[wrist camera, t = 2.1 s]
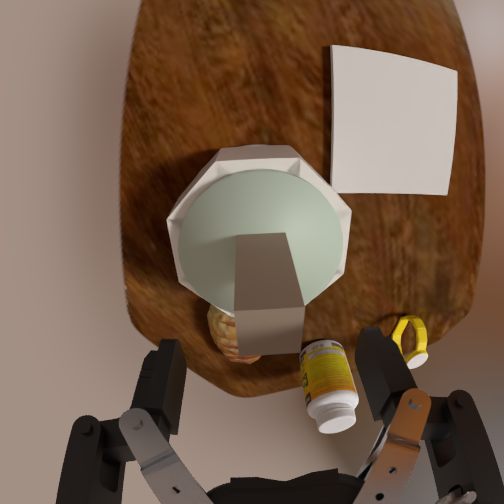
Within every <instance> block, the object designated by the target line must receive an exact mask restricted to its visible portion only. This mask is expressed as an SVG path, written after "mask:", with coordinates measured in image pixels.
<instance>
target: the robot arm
mask: <svg viewBox="0 0 504 504" xmlns="http://www.w3.org/2000/svg"><path fill="white" fill-rule="evenodd" d="M404 360H405V359H404V357H403V355H402V354H401V351H400V349H399V347H398V345H397V343H396V342H395V341H394V340H393V339H391V338H390V337H389V336H387V337H384V336H383V334H382V332H381V330H380V328H379V327H370V328H363V329H361V332H360V335H359V339H358V343H357V346H356V350H355V362H356V366H357V369H358V372H359V375H360V378H361V381H362V384H363V386H364V390H365V393H366V396H367V399H368V402H369V405H370V409H371V412H372V415H373V419H374V421H377V420H383V423H384V425H383V427H382V429H381V431H380V433H379V435H378V438H377V440H376V442H375V444H374V446H373V448H372V450H371V452H370V454H369V456H368V458H367V460H366V461H365V463H364V464H363V466H362V468H361V469H360V471H359V472H358V474H357V476H356V477H354V476H351V475H348V474H342V473H338V469H337V468H336V469H331V470H325V471H318V472H312V473H309V474H306V475H304V476H300V477H297V478H295V479H292V480H288V481H277V480H271V479H265V478H259V477H244V478H230V480H231V481H230V483H226V484H223V485H220V486H218V487H215V488H213V489H212V490H210V491H208V492H207V493H206V492H205V491H204V489H203V488H202V487H201V486H200V485H199V483H198V482H197V481H196V480H195V478H194V477H193V476H192V474H191V473H190V472H189V471H188V469H187V468H186V467H185V465H184V464H183V463H182V461H181V460H180V458H179V457H178V456H177V454H176V453H175V451H174V450H173V448H172V447H171V446H170V444H169V438H170V434H173V435H177V434H178V427H179V419H180V413H181V405H182V399H183V392H184V386H185V379H186V372H187V367H186V360H185V357H184V354H183V351H182V347H181V344H180V341H179V340H178V339H162V340H161V341H160V345H159V348H158V351H154V350H153V351H152V350H151V351H150V353H149V354H148V355H147V356H146V357H145V358H144V361H143V364H142V368H141V372H140V375H139V379H138V382H137V386H136V389H135V393H134V397H133V400H132V404H131V407H130V409H129V410H127V411H126V412H124V413H123V414H122V416H121V417H120V418H117V419H112V420H105V421H98V420H97V419H96V418H95V417H93V416H90V415H85V416H81V417H79V418H78V419H77V420H76V421H75V422H74V424H73V426H72V430H71V434H70V438H69V441H68V445H67V450H66V454H65V458H64V463H63V467H62V472H61V477H60V482H59V487H58V493H57V499H56V504H121V501H122V491H123V481H124V472H125V465H126V462H128V461H135V460H137V461H138V463H139V465H140V467H141V472H142V475H143V476H144V478H145V479H146V481H147V483H148V484H149V486H150V488H151V489H152V491H153V492H154V494H155V495H156V497H157V498H158V500H159V501H160V503H161V504H398V502H399V500H400V498H401V496H402V494H403V492H404V490H405V487H406V485H407V483H408V481H409V478H410V476H411V474H412V471H413V469H414V466H415V464H416V461H417V458H418V456H419V453H420V449H421V447H420V446H419V442H420V440H425V444H426V447H427V450H428V455H429V458H430V462H431V466H432V470H433V474H434V478H435V483H436V487H437V492H438V496H439V500H438V501H437V502H436V503H435V504H504V485H503V482H502V478H501V475H500V472H499V468H498V465H497V462H496V459H495V456H494V452H493V450H492V447H491V444H490V441H489V438H488V435H487V433H486V430H485V427H484V425H483V422H482V420H481V417H480V415H479V413H478V410H477V408H476V405H475V403H474V401H473V399H472V397H471V395H470V394H469V393H467V392H466V391H463V390H456V391H453V392H452V393H451V394H450V395H449V396H448V397H431V396H429V395H428V394H427V393H426V392H425V391H423V390H421V389H418V387H417V386H416V383H415V381H414V379H413V377H412V374H411V372H410V370H409V368H408V366H407V364H406V361H404Z"/></svg>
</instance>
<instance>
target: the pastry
mask: <svg viewBox="0 0 504 504" xmlns="http://www.w3.org/2000/svg"><path fill="white" fill-rule="evenodd" d="M207 319H208V325H209V328H210V333H211V336H212V338H213V340H214V343H215V344H217V347H218V348H219V349H220V350H221V351H222V353H223V354H224V355H225V357H227V358H228V360H230V361H232V362H240V363H242V362H244V363H247V364H251V363H253V362H255V361H256V360H258V359H259V358H260V357H261V356H262V355H256V356H239V352H238V344H237V336H236V327H235V318H234V317H231V316H229V315H228V314H226V313H224V312H223V311H221V310H220V309H218V308H217V307H215V306H214V305H212V304H210V308H209V311H208V313H207Z"/></svg>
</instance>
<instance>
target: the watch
mask: <svg viewBox="0 0 504 504" xmlns="http://www.w3.org/2000/svg"><path fill="white" fill-rule="evenodd" d="M408 321H411V322H412V323H413V325H414V328H415V330H416V337H417V344H416V350H415V351H414V352H412V353H411V354H410V355H409V356H408V357H407V358H406V360H404V361H406V364H407V366H408V368H409V369H412V368H416V367H418V366H420V365H422V364H423V363H424V362H425V361H426V360H427V358H428V354H427V352H426V345H427V334H426V329H425V326H424V324H423V322H422V320H421V319H420V318H418V317H417V316H414V315H410V316H403V317H401V318H400V320H399V322H398V324H397V326H396V328H395V329H394V331H393V333H392V336H391V339H393V340H394V341H395V342H396V343H397V345H398V347H399V349H400V351H401V354H402V350H401V334H402V332H403V330H404V328H405V326H406V325H407V323H408ZM402 355H403V354H402ZM403 357H404V356H403ZM404 359H405V358H404Z"/></svg>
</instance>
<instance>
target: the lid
mask: <svg viewBox="0 0 504 504" xmlns="http://www.w3.org/2000/svg"><path fill="white" fill-rule="evenodd" d="M342 252H343V233H342V228H341V224H340V221H339V219H338V216H337V214H336V212H335V210H334V209H333V207H332V206H331V204H330V203H329V201H328V200H327V199H326V197H325V196H324V195H323V194H322V193H321V192H320V191H319V190H318V189H317V188H316V187H315V186H313V185H312V184H311V183H309V182H307V181H306V180H304V179H303V178H300V177H298V176H296V175H294V174H291V173H288V172H284V171H280V170H274V169H251V170H244V171H240V172H236V173H233V174H231V175H228V176H226V177H223V178H221V179H220V180H218V181H216V182H214V183H213V184H212V185H210V186H209V187H208V188H206V189H205V190H204V191H203V192H202V193H201V194H200V195H199V196H198V197H197V198H196V199H195V201H194V202H193V203H192V205H191V206H190V208H189V210H188V212H187V214H186V216H185V218H184V220H183V223H182V226H181V229H180V233H179V239H178V253H179V260H180V264H181V267H182V270H183V272H184V274H185V276H186V278H187V280H188V281H189V283H190V284H191V286H192V287H193V288H194V289H195V291H196V292H197V293H198V294H200V295H201V296H202V297H203V298H204V299H205V300H207V301H208V302H209V303H211V304H213V305H215V306H216V307H218V308H220V309H223V310H225V311H228V312H231V313H234V318H235V327H236V336H237V344H238V352H239V356H256V355H274V354H288V353H300V352H301V343H302V333H303V323H304V312H305V304H307V303H308V302H310V301H311V300H312V299H314V298H315V297H316V296H318V295H319V294H320V293H321V292H322V291H323V290H324V289H325V288H326V286H327V285H328V284H329V283H330V281H331V280H332V278H333V277H334V275H335V273H336V271H337V269H338V267H339V264H340V261H341V257H342Z"/></svg>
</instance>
